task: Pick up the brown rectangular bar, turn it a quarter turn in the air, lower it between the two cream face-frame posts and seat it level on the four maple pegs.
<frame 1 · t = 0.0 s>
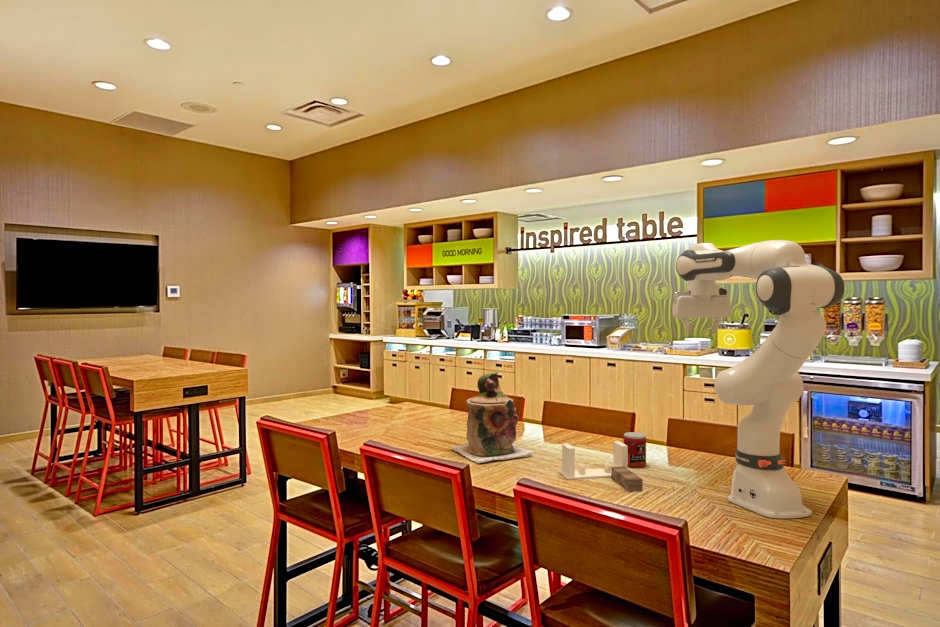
hand: (701, 331, 201), 48 cm above the table, fingers open, 8 cm apart
brown rectangular bar: (626, 485, 187), on the table
peg frame: (594, 474, 198), on the table
cookie jar: (491, 454, 226), on the table
canned food: (634, 465, 209), on the table
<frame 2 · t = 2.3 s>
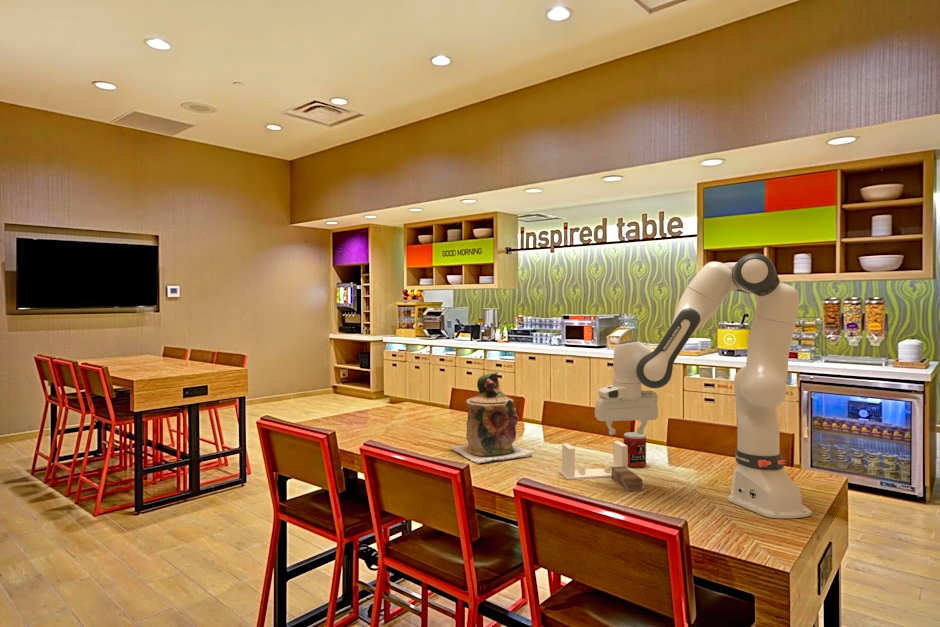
hand: (626, 434, 187), 16 cm above the table, fingers open, 8 cm apart
nothing on the table moved.
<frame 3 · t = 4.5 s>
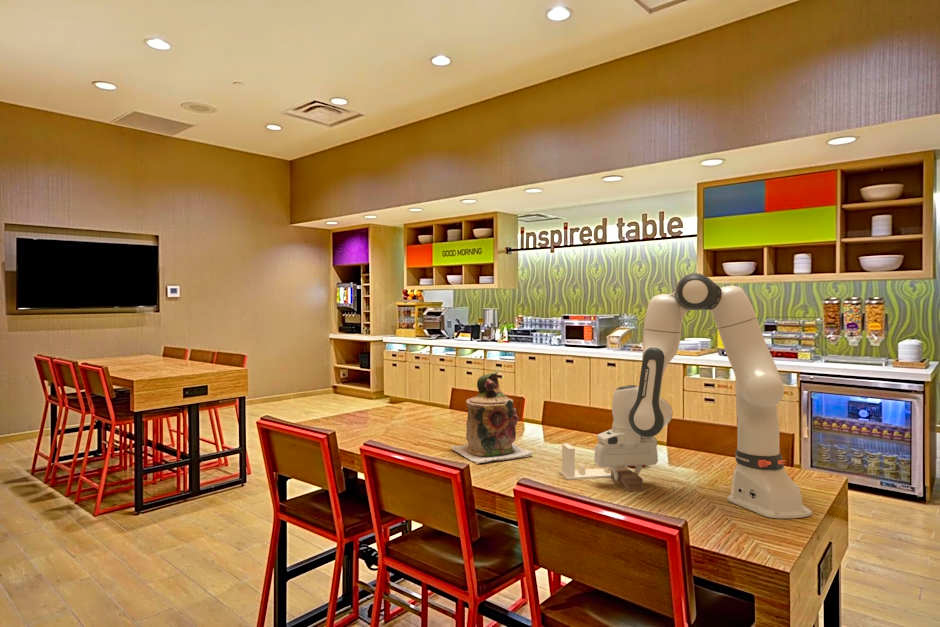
hand: (626, 479, 187), 2 cm above the table, fingers closed on brown rectangular bar, 4 cm apart
brown rectangular bar: (626, 484, 187), on the table, touching gripper
everything else where it was.
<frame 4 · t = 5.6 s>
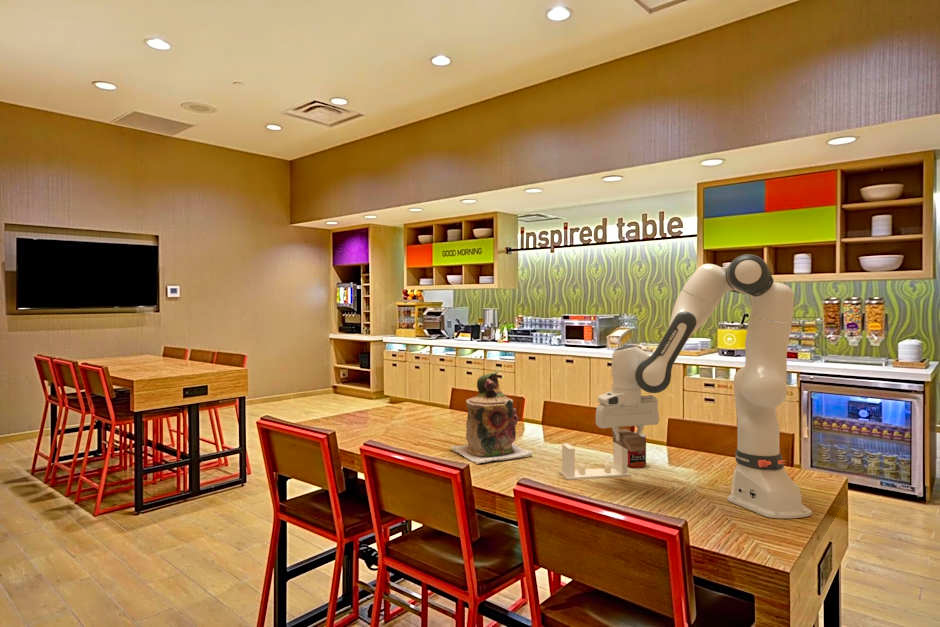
hand: (628, 440, 186), 14 cm above the table, fingers closed on brown rectangular bar, 4 cm apart
brown rectangular bar: (628, 445, 187), point 12 cm above the table, touching gripper
everything else where it was.
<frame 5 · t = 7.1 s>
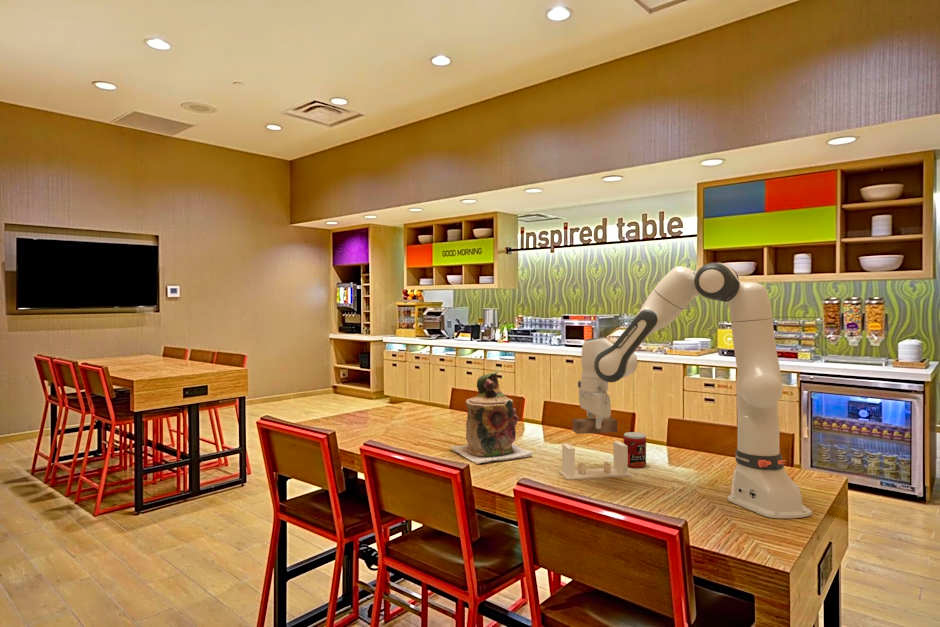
hand: (594, 426, 197), 16 cm above the table, fingers closed on brown rectangular bar, 4 cm apart
brown rectangular bar: (594, 431, 198), point 14 cm above the table, touching gripper
everything else where it was.
when the fingers open (7 cm above the table, at t = 9.1 s): brown rectangular bar drops 1 cm, resting on peg frame.
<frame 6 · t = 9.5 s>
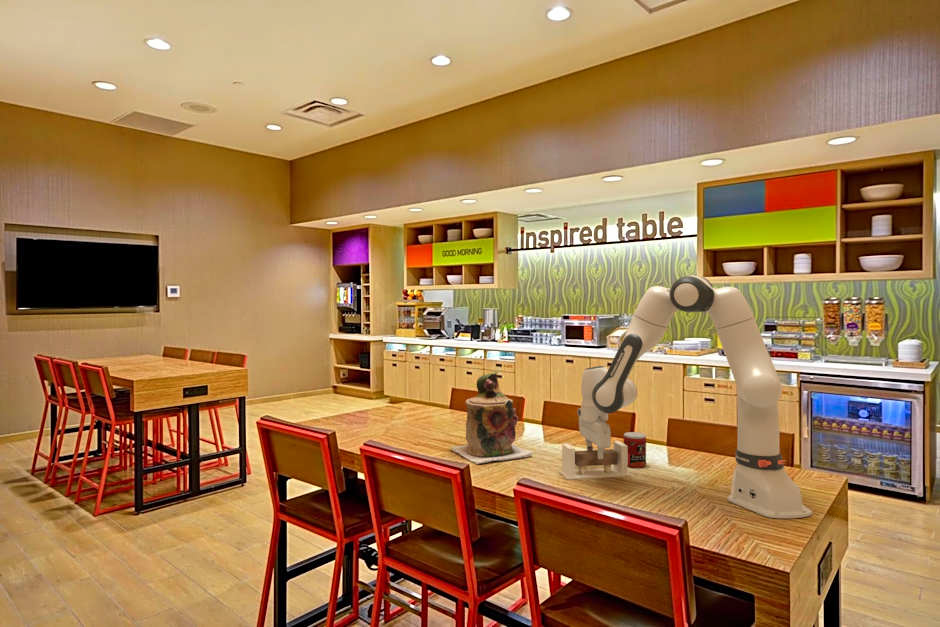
hand: (594, 454, 198), 7 cm above the table, fingers open, 8 cm apart
brown rectangular bar: (595, 463, 198), point 4 cm above the table, touching peg frame
everything else where it was.
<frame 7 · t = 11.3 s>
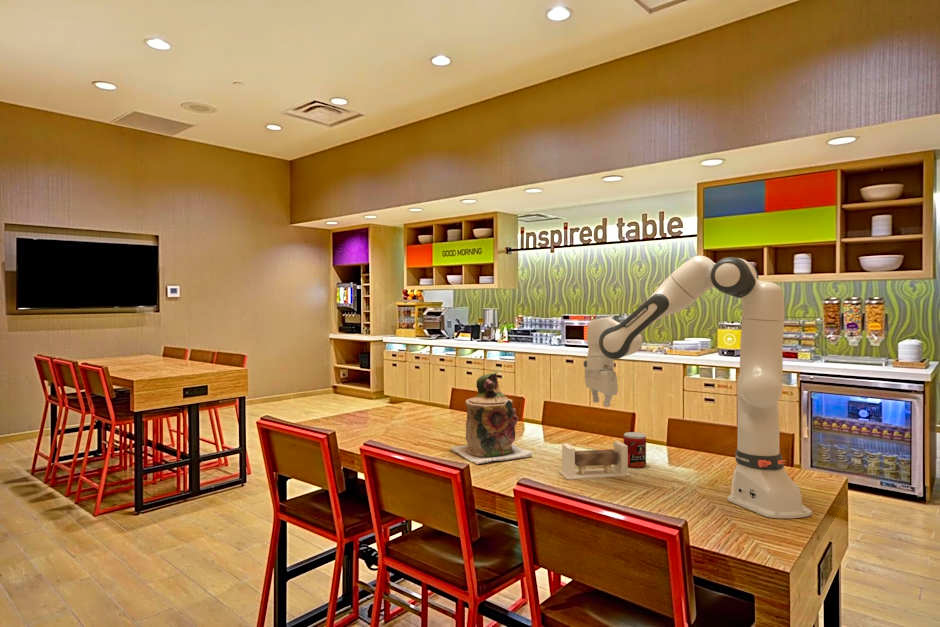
hand: (601, 404, 200), 23 cm above the table, fingers open, 8 cm apart
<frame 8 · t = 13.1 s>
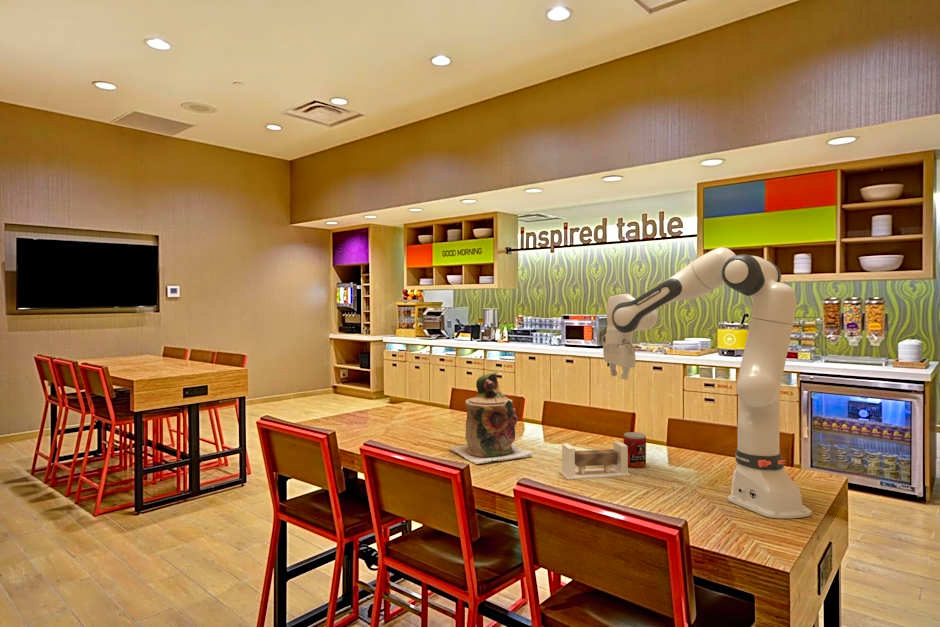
hand: (619, 377, 209), 31 cm above the table, fingers open, 8 cm apart
at the end: brown rectangular bar 0.1 cm off-centre on the peg frame, point 3.6 cm above the peg frame's base; brown rectangular bar tilted 0°; the gripper is holding nothing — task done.
